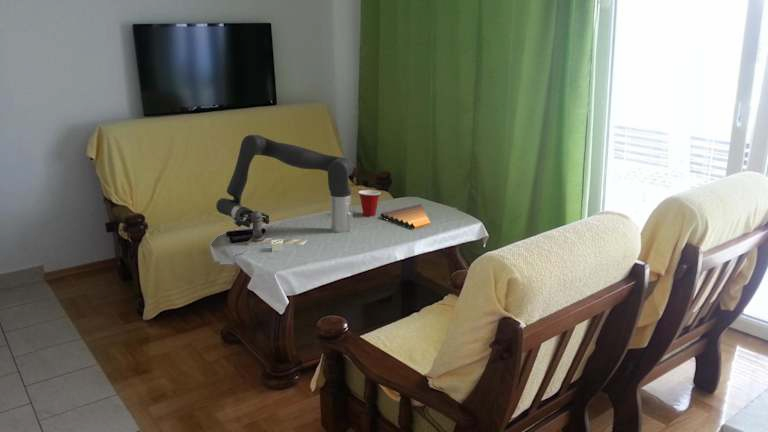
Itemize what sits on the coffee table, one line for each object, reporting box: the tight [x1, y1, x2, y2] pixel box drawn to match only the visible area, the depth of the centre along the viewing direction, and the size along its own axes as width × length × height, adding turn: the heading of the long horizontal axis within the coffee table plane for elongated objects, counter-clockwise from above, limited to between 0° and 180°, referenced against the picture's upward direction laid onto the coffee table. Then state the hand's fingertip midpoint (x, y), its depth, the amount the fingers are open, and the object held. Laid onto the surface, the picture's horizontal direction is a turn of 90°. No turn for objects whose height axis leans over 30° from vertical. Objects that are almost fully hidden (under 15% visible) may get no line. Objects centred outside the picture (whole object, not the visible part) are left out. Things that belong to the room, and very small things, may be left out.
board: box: [245, 237, 308, 246], centre depth 261 cm, size 26×8×1 cm, turn 81°
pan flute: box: [380, 203, 432, 230], centre depth 296 cm, size 25×3×25 cm
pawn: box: [251, 210, 265, 243], centre depth 260 cm, size 5×5×13 cm
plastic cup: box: [358, 189, 381, 217], centre depth 300 cm, size 11×11×12 cm
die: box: [271, 238, 284, 252], centre depth 251 cm, size 4×4×5 cm
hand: (258, 223), depth 258 cm, fingers open, 8 cm apart
